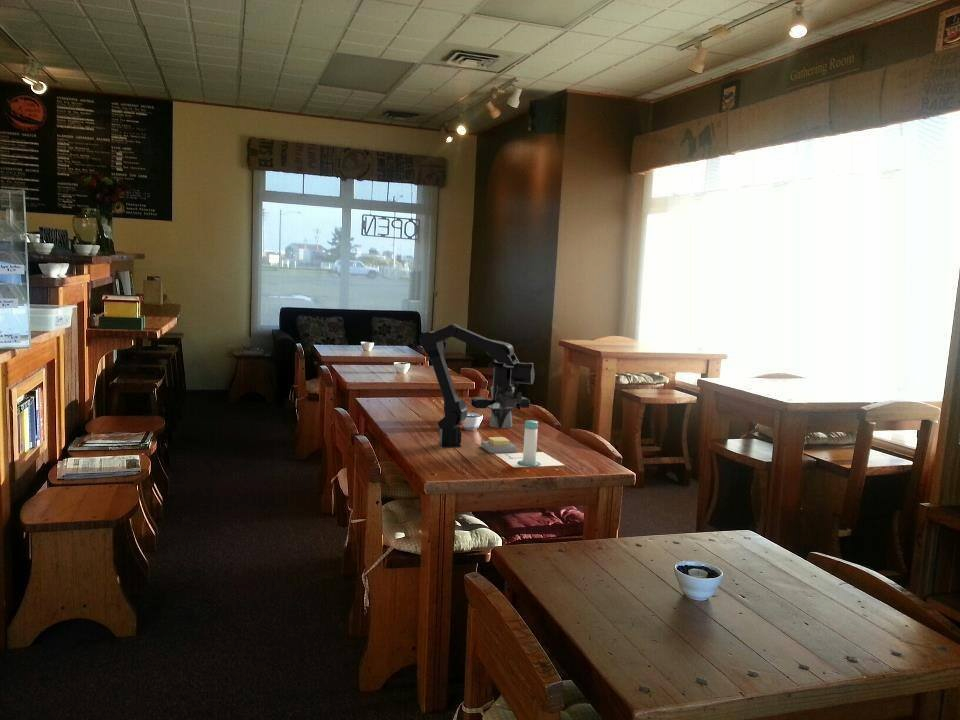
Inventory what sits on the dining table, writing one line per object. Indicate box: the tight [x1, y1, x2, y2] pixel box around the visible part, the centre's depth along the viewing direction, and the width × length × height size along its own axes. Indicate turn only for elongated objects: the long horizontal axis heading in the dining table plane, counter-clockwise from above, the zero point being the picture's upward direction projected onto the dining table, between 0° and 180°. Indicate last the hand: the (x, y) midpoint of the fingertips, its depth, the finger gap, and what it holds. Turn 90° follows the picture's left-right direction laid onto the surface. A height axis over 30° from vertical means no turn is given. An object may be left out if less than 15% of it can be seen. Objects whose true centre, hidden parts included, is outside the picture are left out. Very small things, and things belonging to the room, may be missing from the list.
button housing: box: [480, 440, 517, 454], centre depth 253 cm, size 9×9×2 cm
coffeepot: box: [488, 383, 516, 429], centre depth 294 cm, size 15×9×18 cm, turn 147°
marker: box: [522, 419, 539, 465], centre depth 235 cm, size 4×4×13 cm
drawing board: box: [494, 451, 565, 468], centre depth 241 cm, size 18×18×1 cm
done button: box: [487, 436, 511, 446], centre depth 252 cm, size 5×5×2 cm
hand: (499, 428), depth 252 cm, fingers closed
